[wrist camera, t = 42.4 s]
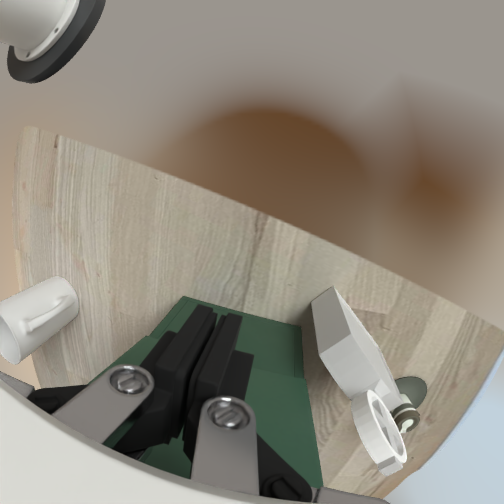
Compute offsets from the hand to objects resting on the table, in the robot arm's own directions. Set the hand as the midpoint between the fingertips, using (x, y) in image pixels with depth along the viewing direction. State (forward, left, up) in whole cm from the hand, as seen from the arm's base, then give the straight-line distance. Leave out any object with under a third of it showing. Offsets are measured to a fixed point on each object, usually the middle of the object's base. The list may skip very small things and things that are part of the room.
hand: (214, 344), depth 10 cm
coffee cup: (+15, +22, -18) cm, 32 cm away
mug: (+13, -22, -18) cm, 31 cm away
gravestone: (+6, +11, -18) cm, 22 cm away
